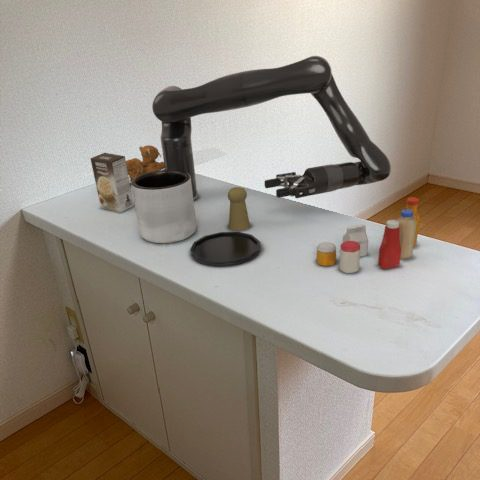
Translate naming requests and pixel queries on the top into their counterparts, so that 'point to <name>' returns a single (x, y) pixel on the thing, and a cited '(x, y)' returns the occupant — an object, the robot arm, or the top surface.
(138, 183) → the planter
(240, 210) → the cork
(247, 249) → the metal plate
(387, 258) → the toy food
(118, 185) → the coffee box
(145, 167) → the stuffed squirrel
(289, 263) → the top surface
